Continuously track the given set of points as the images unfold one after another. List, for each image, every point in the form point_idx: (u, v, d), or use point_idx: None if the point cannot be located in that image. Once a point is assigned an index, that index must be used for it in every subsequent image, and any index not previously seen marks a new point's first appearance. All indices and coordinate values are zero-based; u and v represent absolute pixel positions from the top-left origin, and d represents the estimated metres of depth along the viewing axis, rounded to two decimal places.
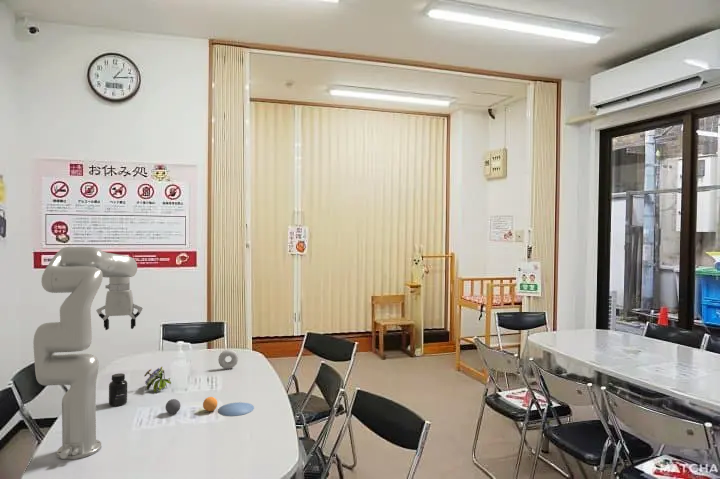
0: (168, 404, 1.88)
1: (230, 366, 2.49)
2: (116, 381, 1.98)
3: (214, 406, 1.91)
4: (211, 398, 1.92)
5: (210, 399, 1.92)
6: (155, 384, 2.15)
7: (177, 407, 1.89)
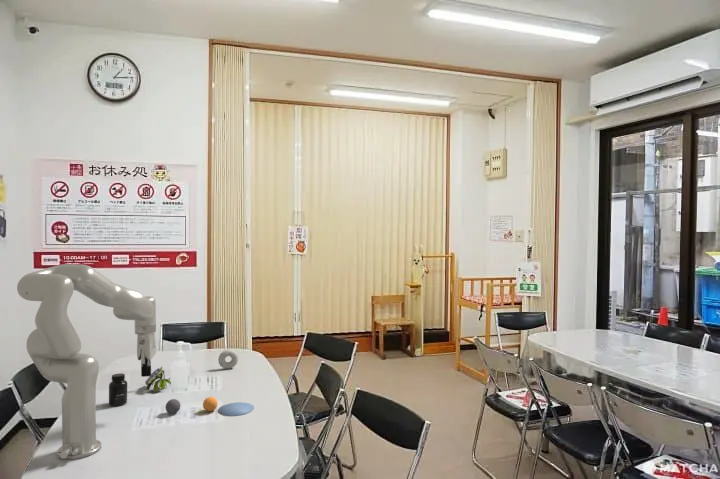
0: (168, 404, 1.88)
1: (230, 366, 2.49)
2: (116, 381, 1.98)
3: (214, 406, 1.91)
4: (211, 398, 1.92)
5: (210, 399, 1.92)
6: (155, 384, 2.15)
7: (177, 407, 1.89)
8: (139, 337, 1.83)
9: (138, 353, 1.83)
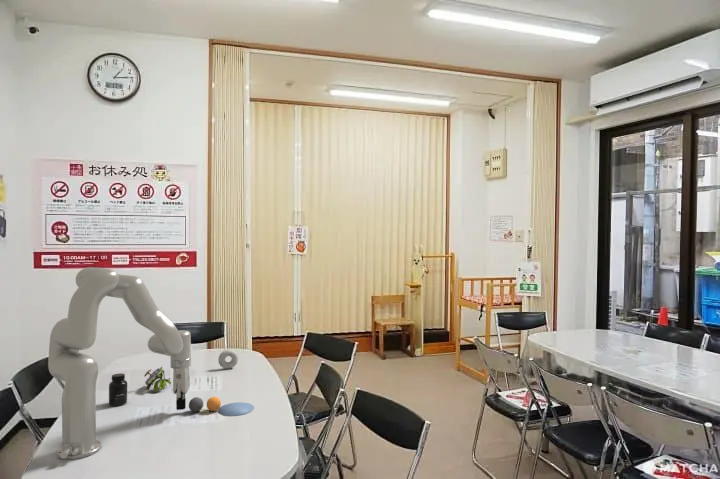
0: (200, 407, 1.91)
1: (230, 366, 2.49)
2: (116, 381, 1.98)
3: (217, 408, 1.92)
4: (218, 399, 1.93)
5: (216, 400, 1.92)
6: (155, 384, 2.15)
7: (191, 408, 1.90)
8: (175, 371, 1.86)
9: (174, 387, 1.86)
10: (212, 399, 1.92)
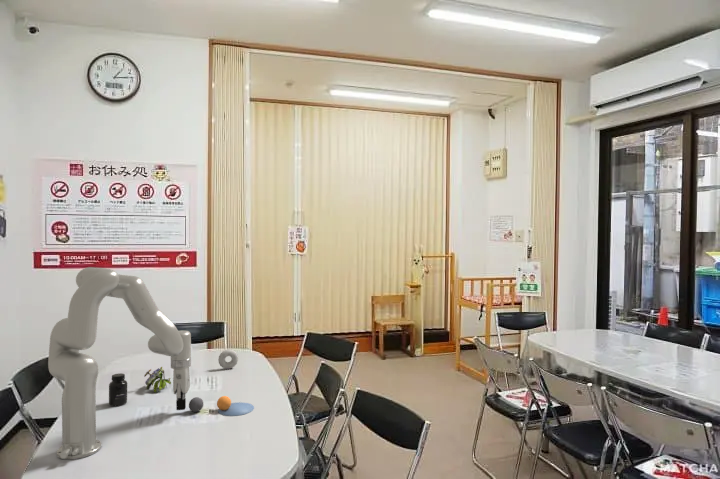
0: (200, 407, 1.91)
1: (230, 366, 2.49)
2: (116, 381, 1.98)
3: (221, 409, 1.92)
4: None
5: (229, 406, 1.93)
6: (155, 384, 2.15)
7: (191, 408, 1.90)
8: (175, 371, 1.86)
9: (174, 387, 1.86)
10: (229, 402, 1.93)
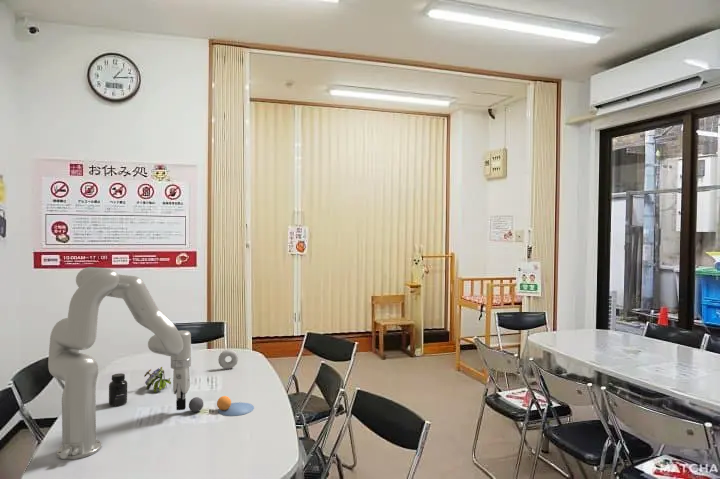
0: (200, 407, 1.91)
1: (230, 366, 2.49)
2: (116, 381, 1.98)
3: (221, 409, 1.92)
4: None
5: (229, 406, 1.93)
6: (155, 384, 2.15)
7: (191, 408, 1.90)
8: (175, 371, 1.86)
9: (174, 387, 1.86)
10: (229, 402, 1.93)
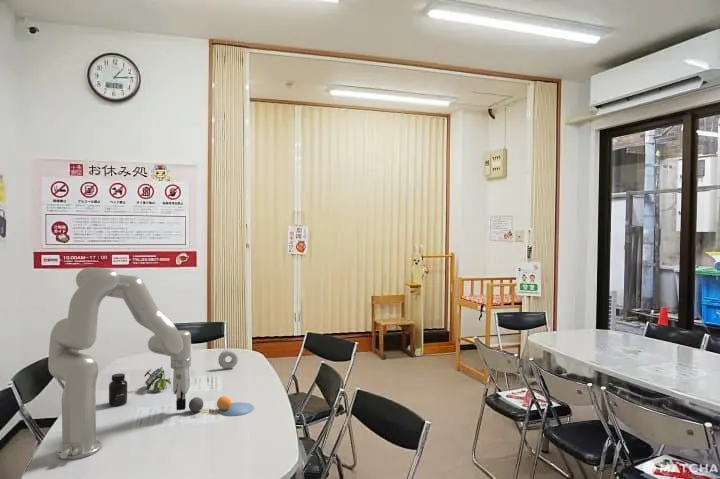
0: (200, 407, 1.91)
1: (230, 366, 2.49)
2: (116, 381, 1.98)
3: (221, 409, 1.92)
4: None
5: (229, 406, 1.93)
6: (155, 384, 2.15)
7: (191, 408, 1.90)
8: (175, 371, 1.86)
9: (174, 387, 1.86)
10: (229, 402, 1.93)
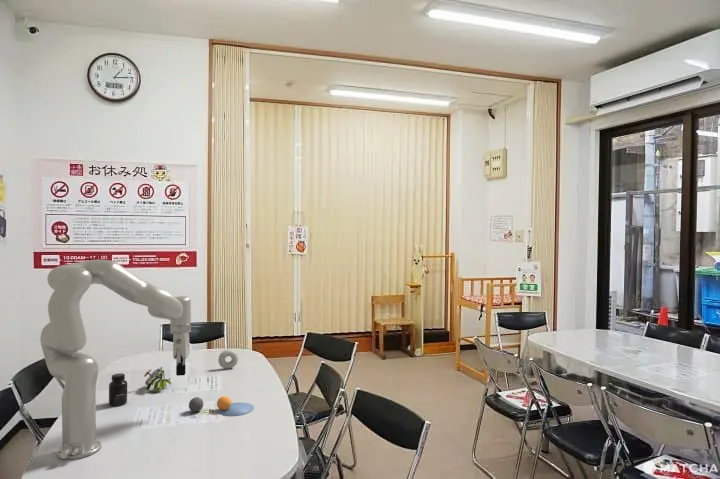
0: (200, 407, 1.91)
1: (230, 366, 2.49)
2: (116, 381, 1.98)
3: (221, 409, 1.92)
4: None
5: (229, 406, 1.93)
6: (155, 384, 2.15)
7: (191, 408, 1.90)
8: (175, 336, 1.86)
9: (174, 352, 1.85)
10: (229, 402, 1.93)
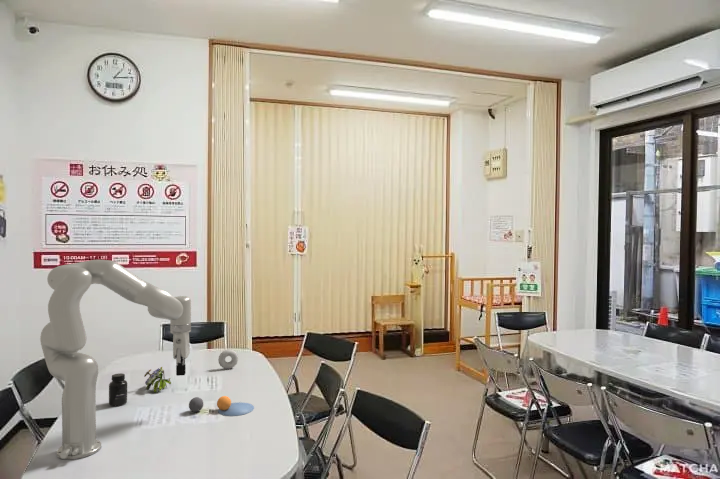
0: (200, 407, 1.91)
1: (230, 366, 2.49)
2: (116, 381, 1.98)
3: (221, 409, 1.92)
4: None
5: (229, 406, 1.93)
6: (155, 384, 2.15)
7: (191, 408, 1.90)
8: (175, 336, 1.86)
9: (174, 352, 1.85)
10: (229, 402, 1.93)
